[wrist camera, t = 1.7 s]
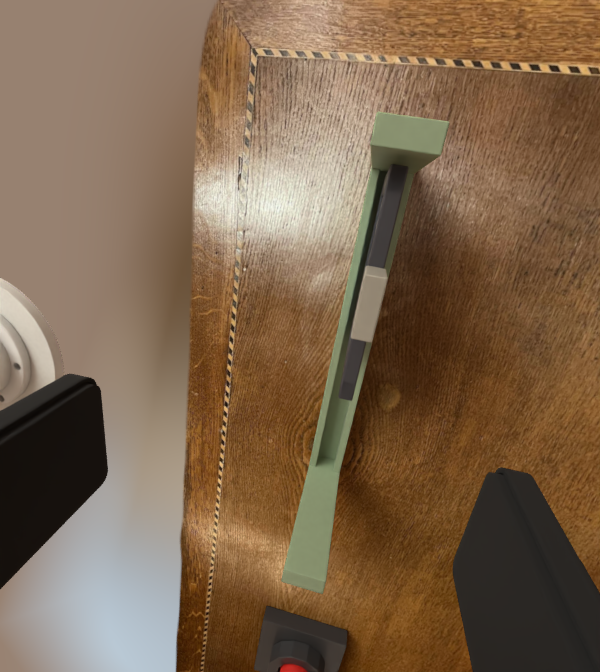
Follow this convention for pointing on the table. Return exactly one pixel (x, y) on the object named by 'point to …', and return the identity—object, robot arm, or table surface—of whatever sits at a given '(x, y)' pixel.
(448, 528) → the table surface
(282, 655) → the dark grey mounting base
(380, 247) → the window pane
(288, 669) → the button
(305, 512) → the window frame
